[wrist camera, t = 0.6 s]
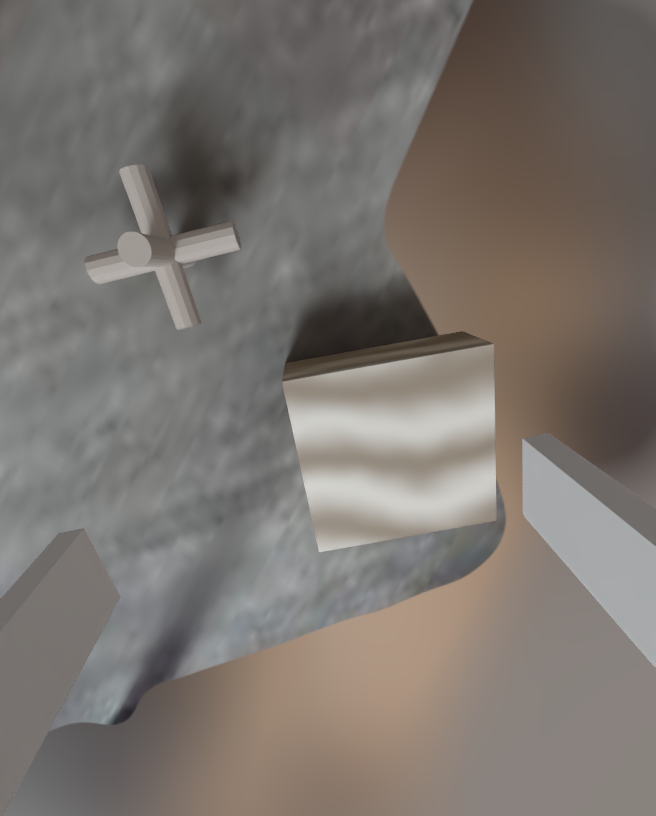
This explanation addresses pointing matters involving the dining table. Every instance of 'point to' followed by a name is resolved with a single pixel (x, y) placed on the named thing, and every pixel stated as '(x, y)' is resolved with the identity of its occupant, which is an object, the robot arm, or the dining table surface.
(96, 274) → the pipe connector
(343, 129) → the dining table surface
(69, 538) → the robot arm
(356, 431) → the stand
